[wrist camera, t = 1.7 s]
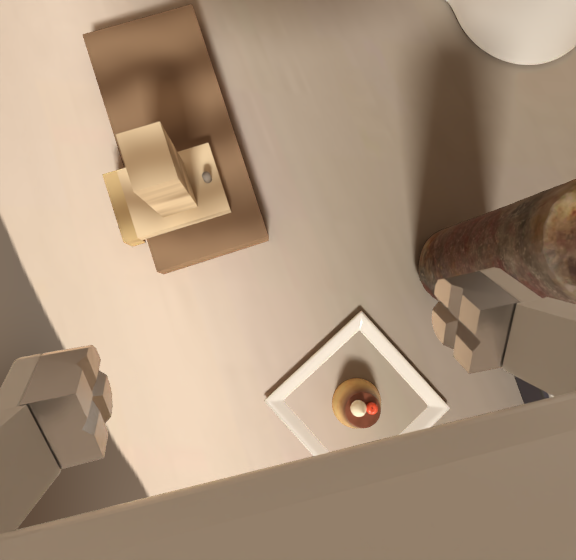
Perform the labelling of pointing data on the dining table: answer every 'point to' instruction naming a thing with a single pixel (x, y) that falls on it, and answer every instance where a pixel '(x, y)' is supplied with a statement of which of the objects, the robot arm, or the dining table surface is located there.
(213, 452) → the dining table surface
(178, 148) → the board
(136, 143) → the stacked wooden blocks
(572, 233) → the candle
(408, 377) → the dessert
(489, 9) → the robot arm
